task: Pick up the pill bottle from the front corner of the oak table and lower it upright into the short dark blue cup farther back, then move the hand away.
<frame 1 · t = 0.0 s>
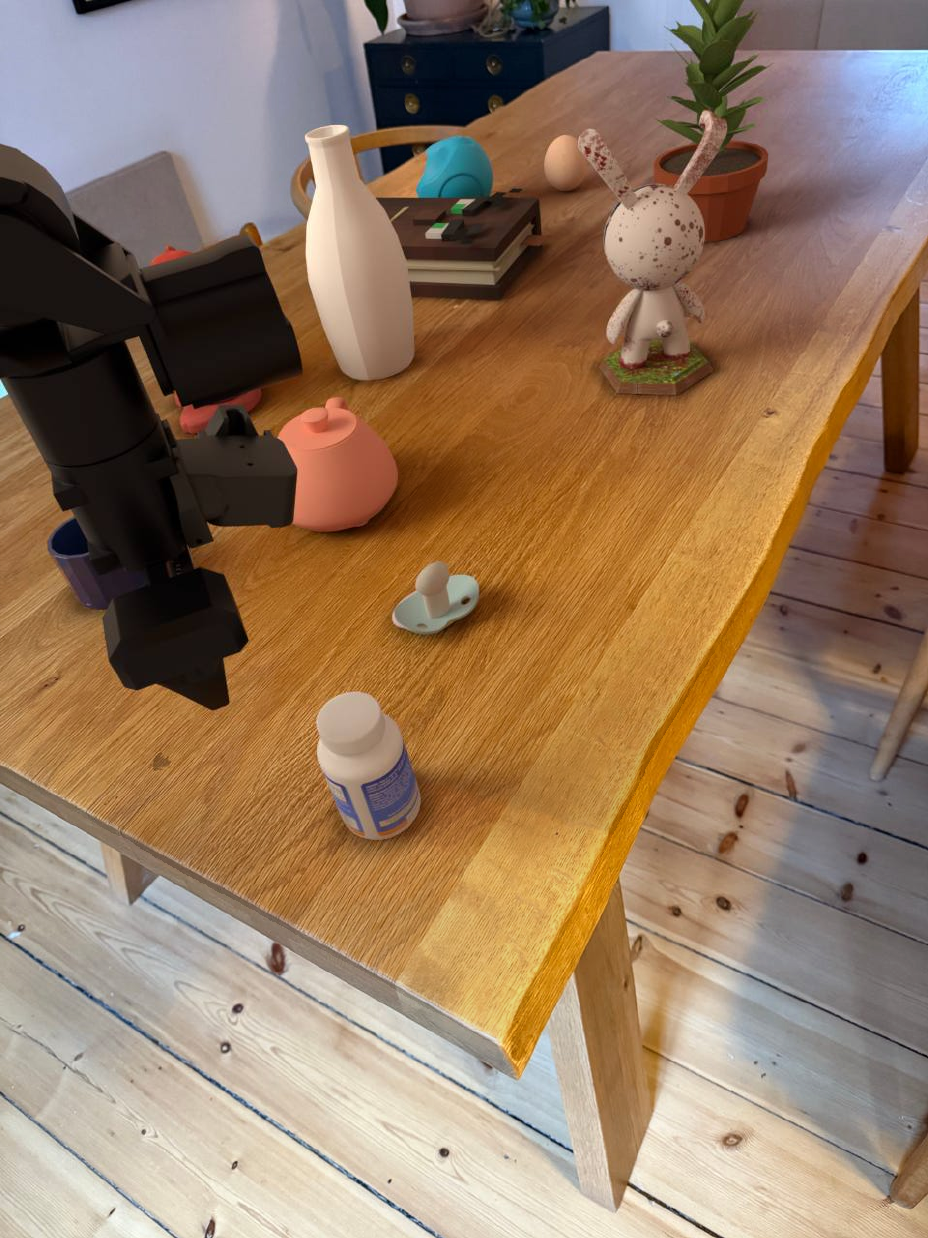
hand: (206, 655, 54), 13 cm above the table, tool pointing down, fingers open, 9 cm apart
potted plant: (706, 230, 123), on the table
pacifier: (434, 616, 73), on the table
sugar bowl: (343, 502, 87), on the table
figurine: (652, 371, 97), on the table
blue rounded dome: (460, 220, 138), on the table
pill bottle: (382, 810, 60), on the table
decorative book: (438, 271, 125), on the table
stacking bear: (222, 406, 105), on the table
egg: (567, 191, 141), on the table
bottle: (378, 364, 107), on the table
dark blue cup: (114, 583, 82), on the table
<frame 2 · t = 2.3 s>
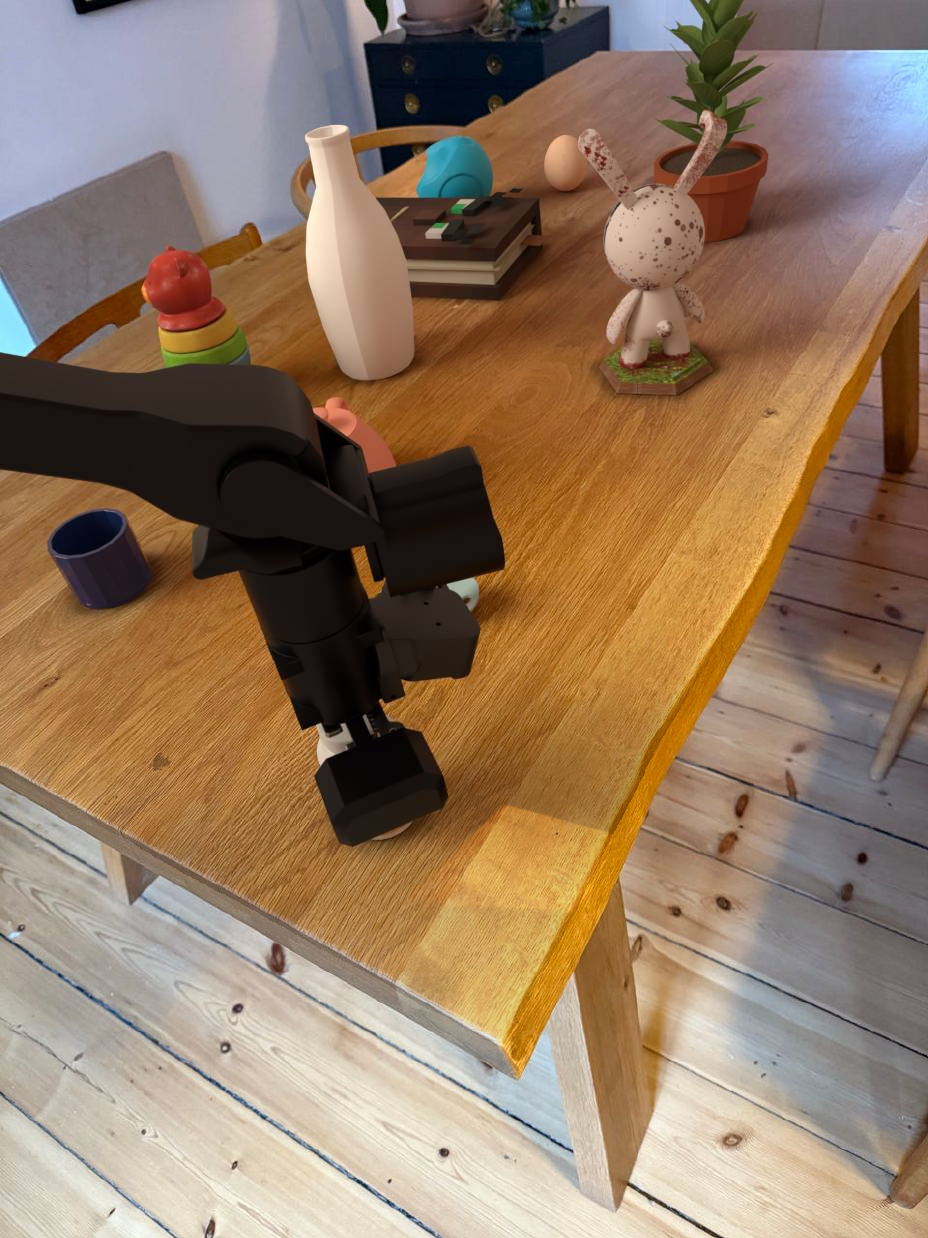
hand: (372, 782, 58), 3 cm above the table, tool pointing down, fingers closed on pill bottle, 5 cm apart
pill bottle: (382, 810, 60), on the table, touching gripper
everything else where it was.
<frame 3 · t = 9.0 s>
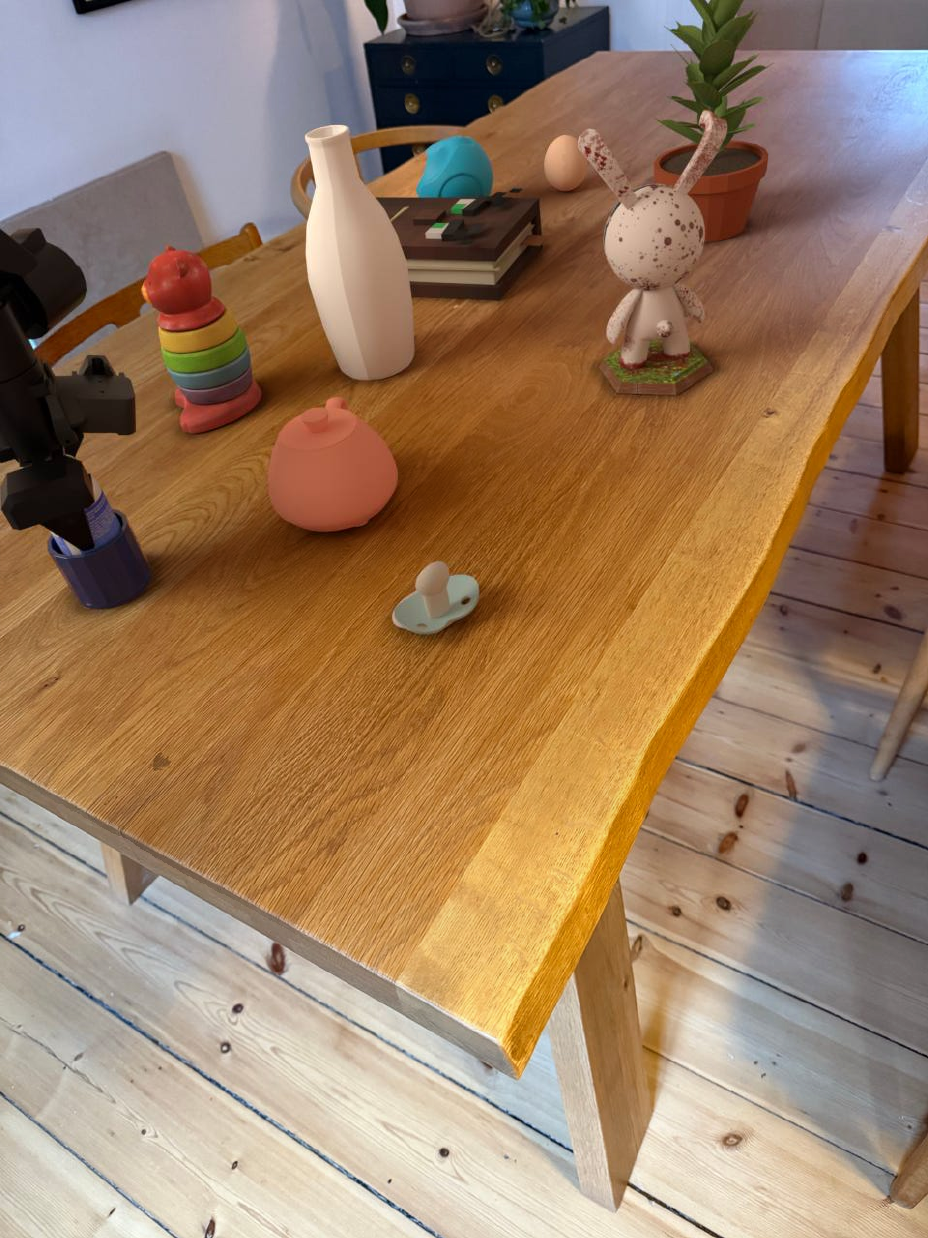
hand: (86, 531, 78), 6 cm above the table, tool pointing down, fingers closed on pill bottle, 5 cm apart
pill bottle: (102, 559, 80), point 3 cm above the table, touching gripper
everything else where it was.
when the fingers open (7 cm above the table, at t = 16.2 s): pill bottle drops 4 cm, resting on dark blue cup.
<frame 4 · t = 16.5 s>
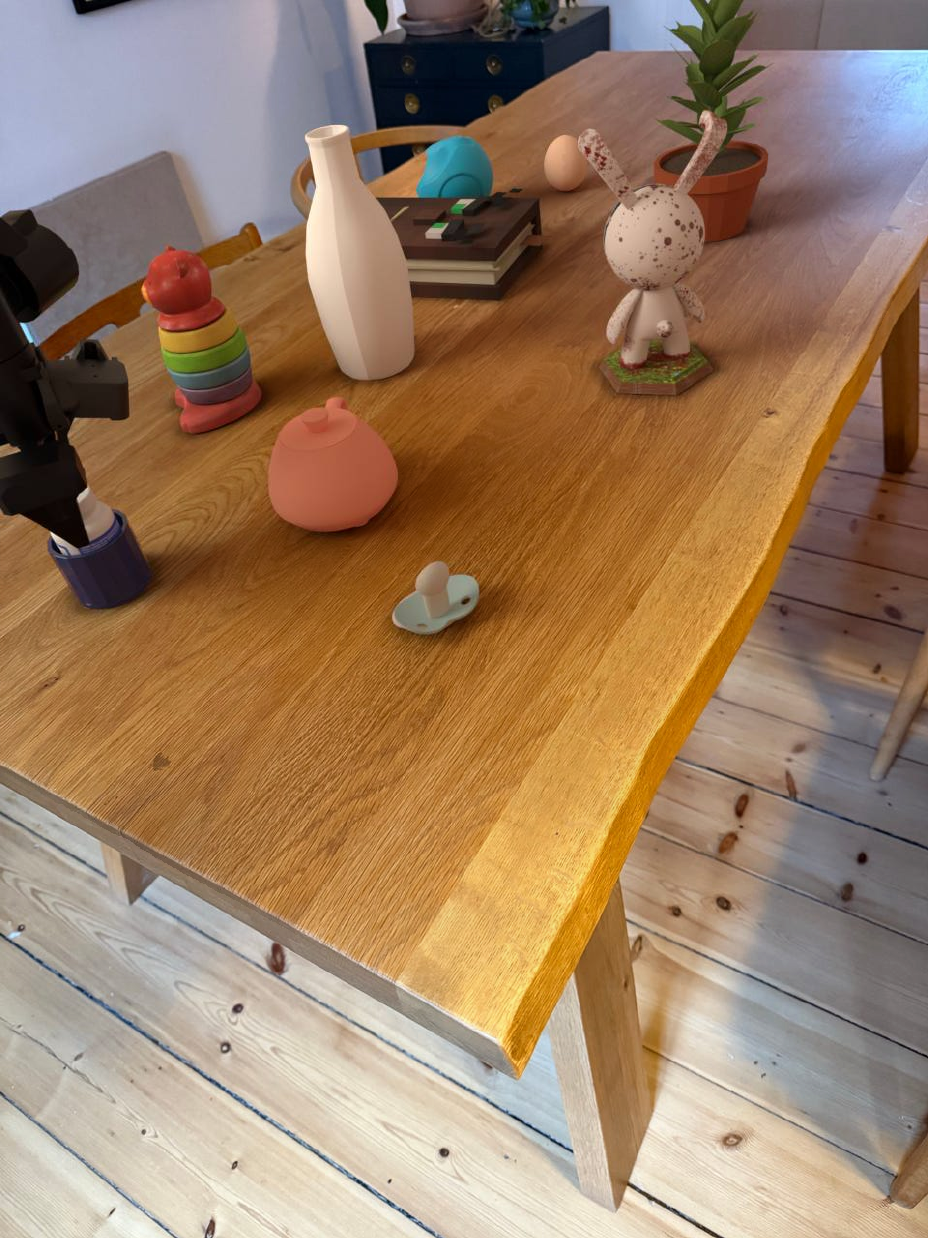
hand: (79, 518, 77), 7 cm above the table, tool pointing down, fingers open, 8 cm apart
pill bottle: (114, 582, 82), resting on dark blue cup
everything else where it was.
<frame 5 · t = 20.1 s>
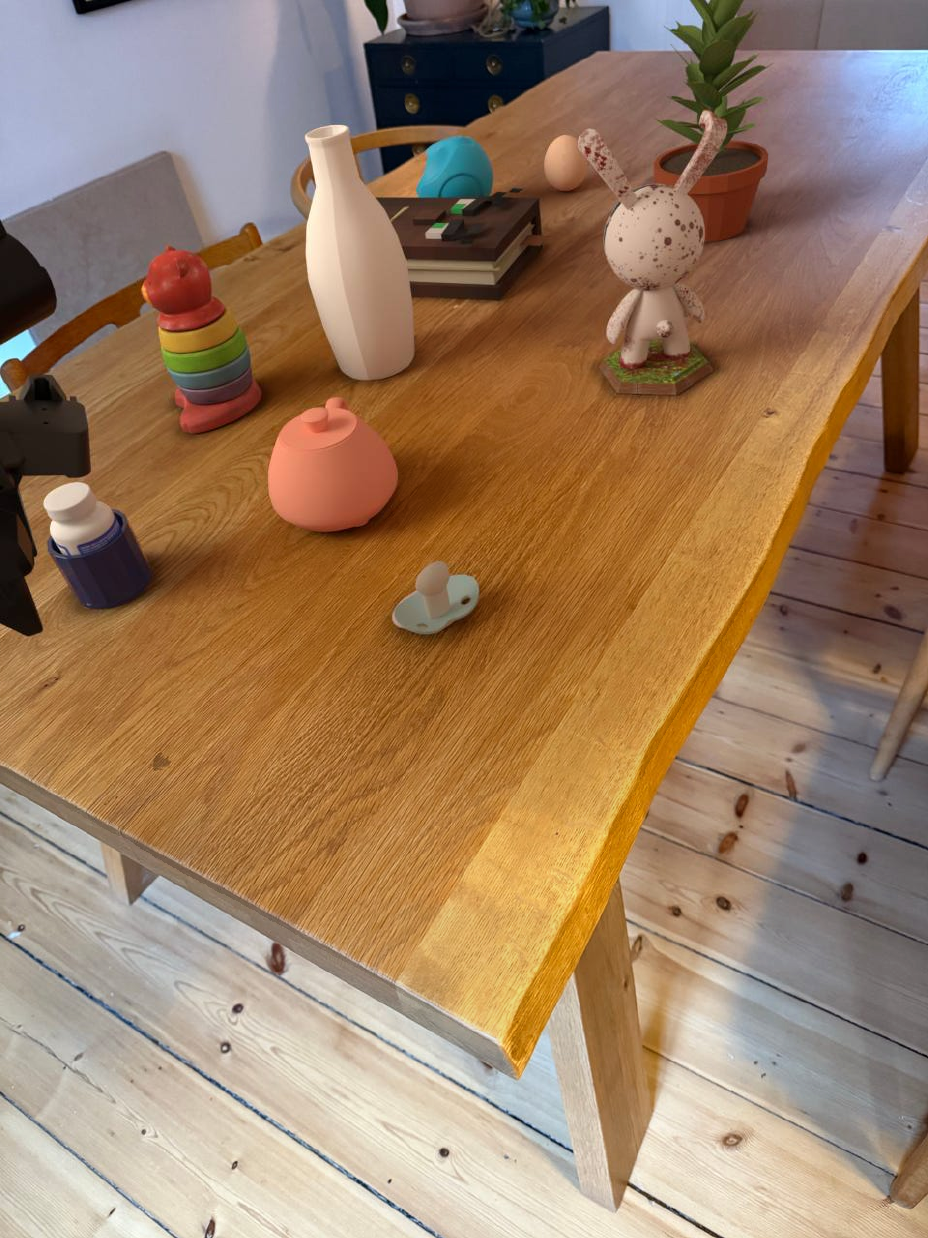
hand: (33, 593, 63), 12 cm above the table, tool pointing down, fingers open, 9 cm apart
nothing on the table moved.
at the end: pill bottle 0.4 cm off-centre in the dark blue cup, point 0.3 cm above the dark blue cup's base; pill bottle tilted 0°; the gripper is holding nothing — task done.
